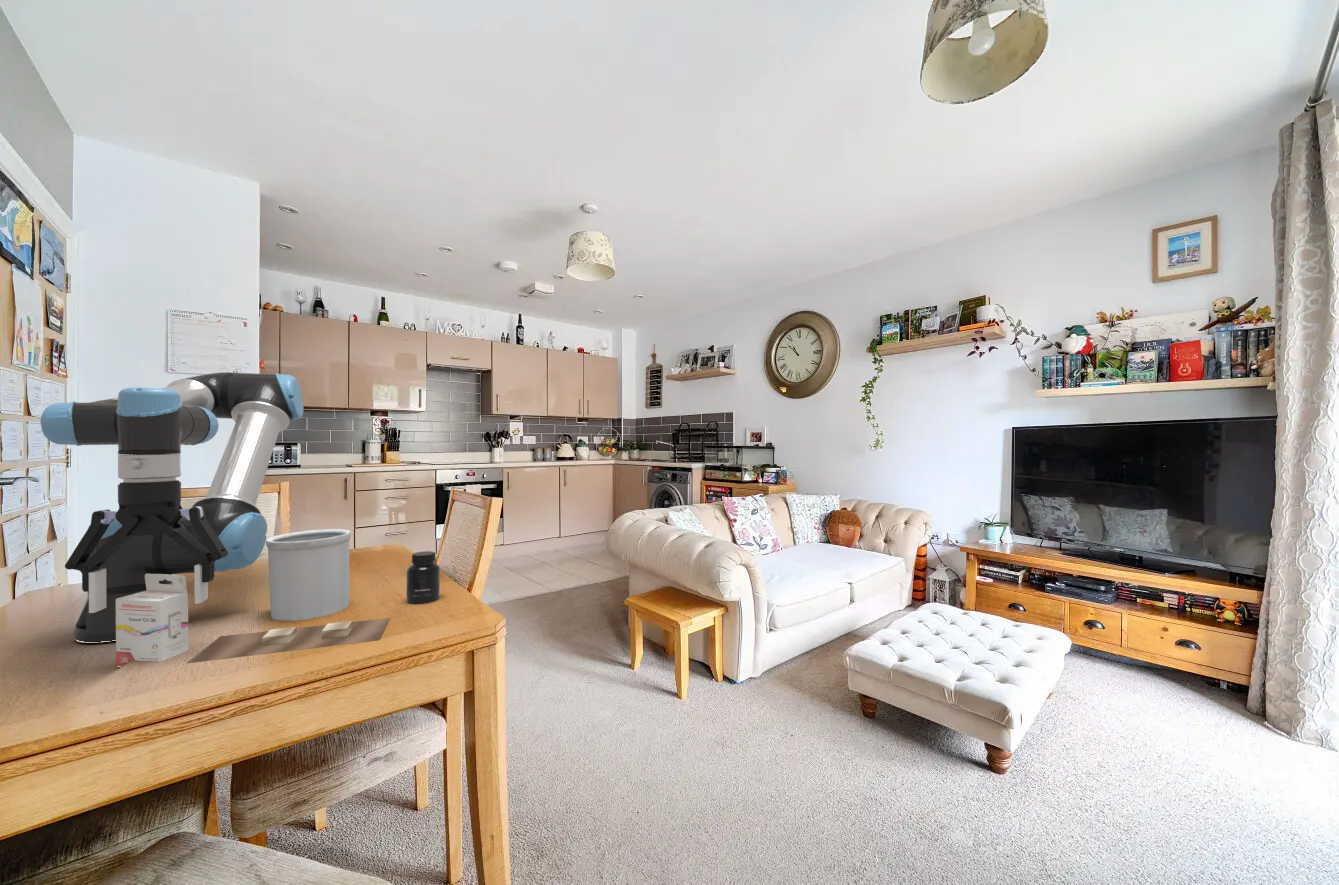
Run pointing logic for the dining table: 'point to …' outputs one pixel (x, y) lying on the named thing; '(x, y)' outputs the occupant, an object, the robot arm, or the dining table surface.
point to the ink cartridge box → (153, 621)
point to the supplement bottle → (423, 579)
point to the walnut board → (303, 640)
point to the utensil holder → (308, 573)
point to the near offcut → (279, 636)
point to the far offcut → (337, 629)
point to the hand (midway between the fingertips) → (151, 605)
